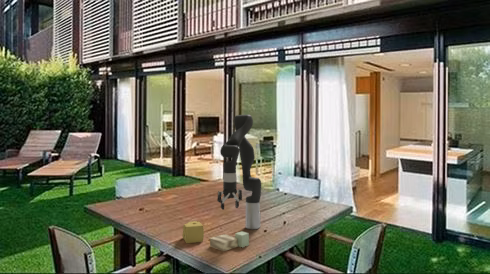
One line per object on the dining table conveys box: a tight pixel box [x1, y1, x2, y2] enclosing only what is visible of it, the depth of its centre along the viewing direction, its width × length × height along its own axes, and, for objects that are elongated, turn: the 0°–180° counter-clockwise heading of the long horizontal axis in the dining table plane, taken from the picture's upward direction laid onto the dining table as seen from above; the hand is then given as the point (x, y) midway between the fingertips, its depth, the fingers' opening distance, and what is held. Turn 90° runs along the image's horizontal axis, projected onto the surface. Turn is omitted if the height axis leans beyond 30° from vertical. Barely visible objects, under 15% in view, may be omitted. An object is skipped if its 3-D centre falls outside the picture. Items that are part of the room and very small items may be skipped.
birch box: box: [209, 233, 238, 252], centre depth 219 cm, size 11×11×5 cm
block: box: [234, 231, 250, 248], centre depth 221 cm, size 6×6×7 cm
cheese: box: [182, 220, 205, 244], centre depth 229 cm, size 10×11×10 cm
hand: (229, 208), depth 220 cm, fingers open, 8 cm apart
